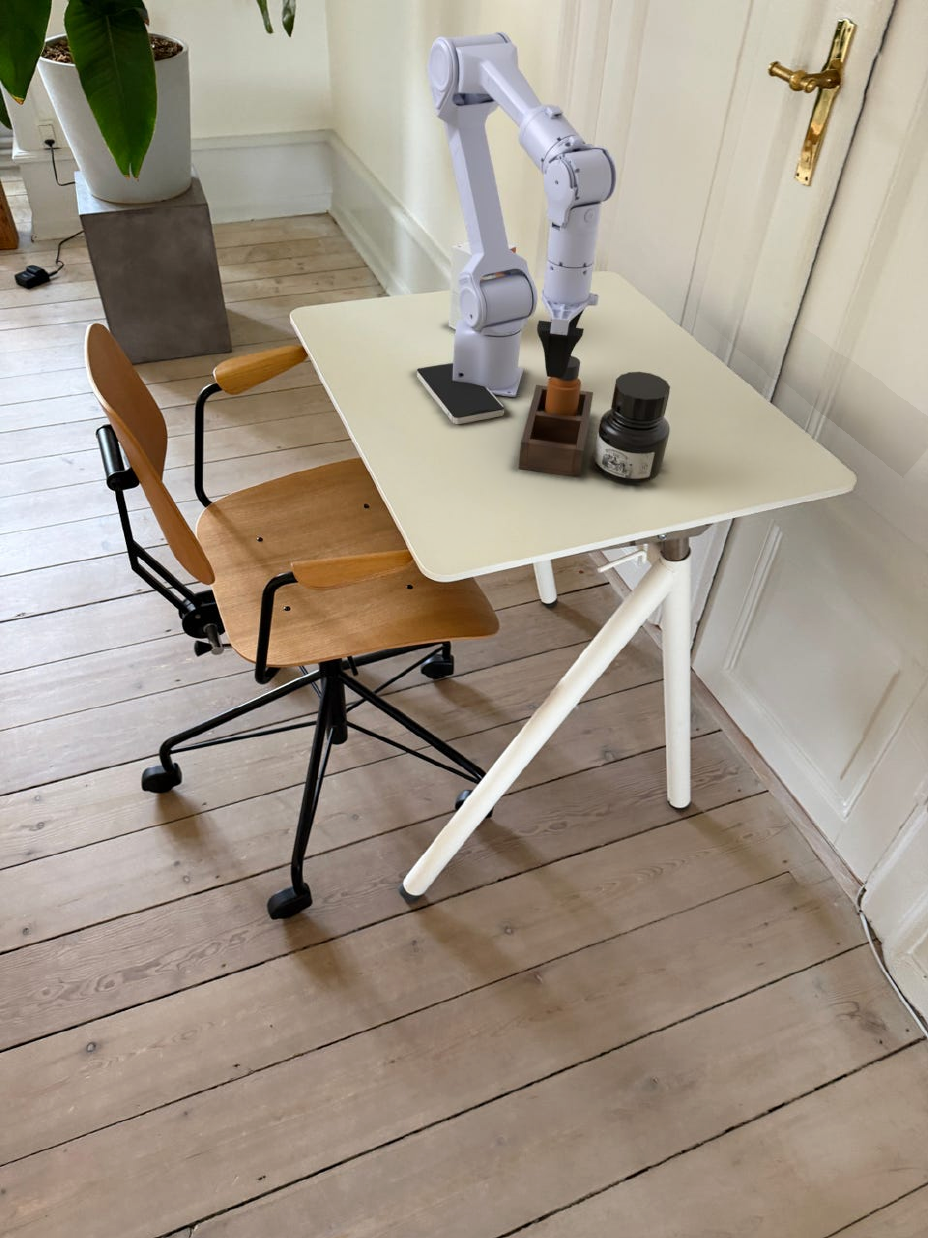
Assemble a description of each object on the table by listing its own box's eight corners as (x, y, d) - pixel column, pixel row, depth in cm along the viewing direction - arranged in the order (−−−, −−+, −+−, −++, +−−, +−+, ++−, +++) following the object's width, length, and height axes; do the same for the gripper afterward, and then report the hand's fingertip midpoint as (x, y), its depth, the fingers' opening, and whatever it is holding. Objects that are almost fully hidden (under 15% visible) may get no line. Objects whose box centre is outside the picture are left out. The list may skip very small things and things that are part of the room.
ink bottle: (577, 465, 122) (589, 384, 114) (614, 439, 127) (628, 359, 119) (640, 496, 118) (657, 413, 110) (675, 467, 123) (695, 386, 115)
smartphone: (464, 360, 140) (507, 408, 130) (464, 367, 141) (506, 416, 131) (414, 368, 137) (453, 418, 127) (414, 376, 138) (453, 426, 128)
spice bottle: (541, 429, 127) (548, 366, 120) (545, 413, 130) (552, 350, 123) (573, 434, 126) (582, 371, 120) (576, 417, 129) (585, 355, 123)
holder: (518, 468, 121) (521, 441, 118) (533, 410, 132) (536, 384, 129) (579, 477, 120) (583, 450, 117) (589, 417, 131) (593, 391, 128)
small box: (475, 340, 146) (479, 258, 137) (447, 326, 149) (450, 245, 141) (510, 325, 151) (517, 245, 142) (483, 312, 154) (487, 232, 145)
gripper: (599, 286, 106) (584, 393, 115) (607, 239, 117) (593, 340, 126) (538, 279, 107) (528, 386, 116) (551, 233, 117) (541, 334, 127)
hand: (558, 362), depth 121 cm, fingers open, 7 cm apart
